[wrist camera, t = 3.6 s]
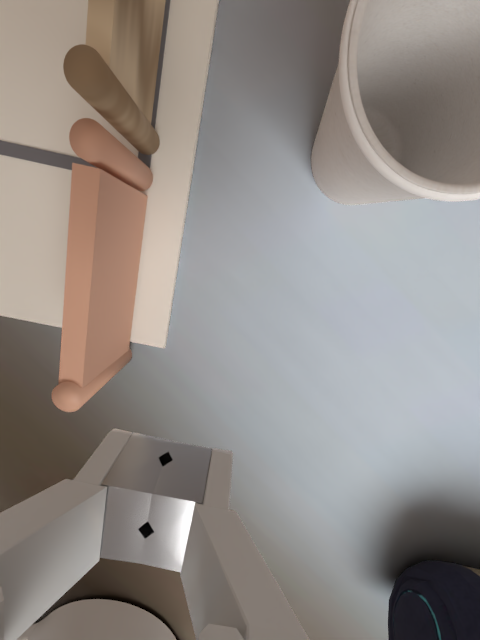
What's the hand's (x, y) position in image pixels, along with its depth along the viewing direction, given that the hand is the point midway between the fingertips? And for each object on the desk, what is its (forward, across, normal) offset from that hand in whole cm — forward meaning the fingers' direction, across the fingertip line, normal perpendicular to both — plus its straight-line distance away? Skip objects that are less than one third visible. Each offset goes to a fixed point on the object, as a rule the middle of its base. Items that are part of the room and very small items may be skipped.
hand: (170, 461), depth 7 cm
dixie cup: (+14, +6, +12) cm, 20 cm away
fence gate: (+13, -7, +2) cm, 15 cm away
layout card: (+14, -13, +8) cm, 21 cm away
